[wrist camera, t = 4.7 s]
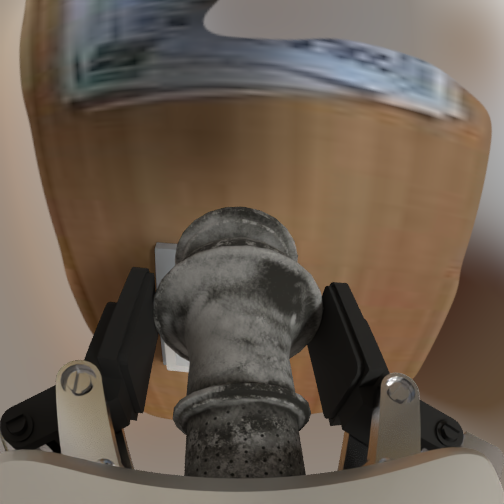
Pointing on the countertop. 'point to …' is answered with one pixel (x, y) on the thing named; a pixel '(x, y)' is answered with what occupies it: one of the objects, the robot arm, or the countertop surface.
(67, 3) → the countertop surface
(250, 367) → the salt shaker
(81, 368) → the robot arm
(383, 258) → the countertop surface
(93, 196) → the countertop surface
